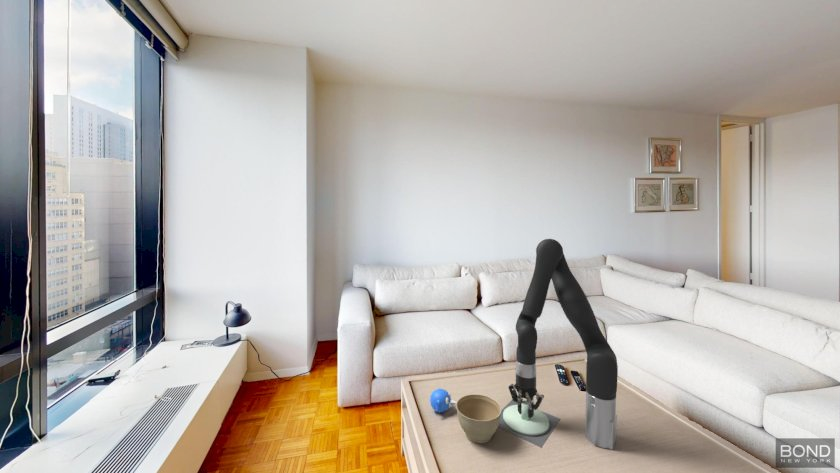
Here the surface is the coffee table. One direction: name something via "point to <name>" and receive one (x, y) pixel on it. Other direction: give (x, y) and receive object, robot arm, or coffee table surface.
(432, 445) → the coffee table surface
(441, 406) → the blue mole toy
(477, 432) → the planter bowl
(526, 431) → the lid
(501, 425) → the mat
